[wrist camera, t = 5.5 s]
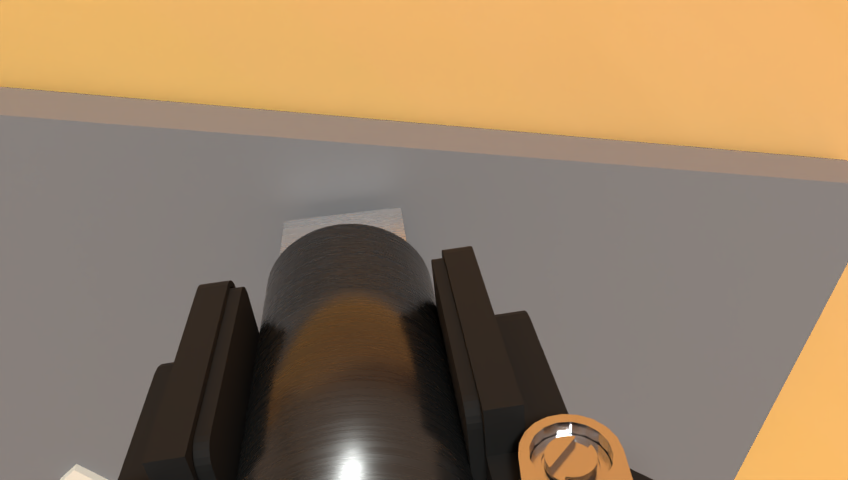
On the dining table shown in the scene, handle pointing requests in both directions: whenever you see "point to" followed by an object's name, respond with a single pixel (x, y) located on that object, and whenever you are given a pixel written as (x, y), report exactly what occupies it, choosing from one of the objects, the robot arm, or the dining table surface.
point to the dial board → (428, 234)
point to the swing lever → (351, 360)
